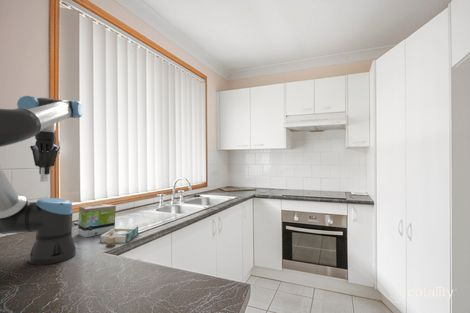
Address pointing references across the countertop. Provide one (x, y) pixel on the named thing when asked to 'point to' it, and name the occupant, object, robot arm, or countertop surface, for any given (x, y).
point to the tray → (128, 234)
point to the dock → (117, 238)
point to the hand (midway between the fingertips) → (44, 181)
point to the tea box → (96, 219)
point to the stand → (110, 242)
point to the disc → (120, 233)
